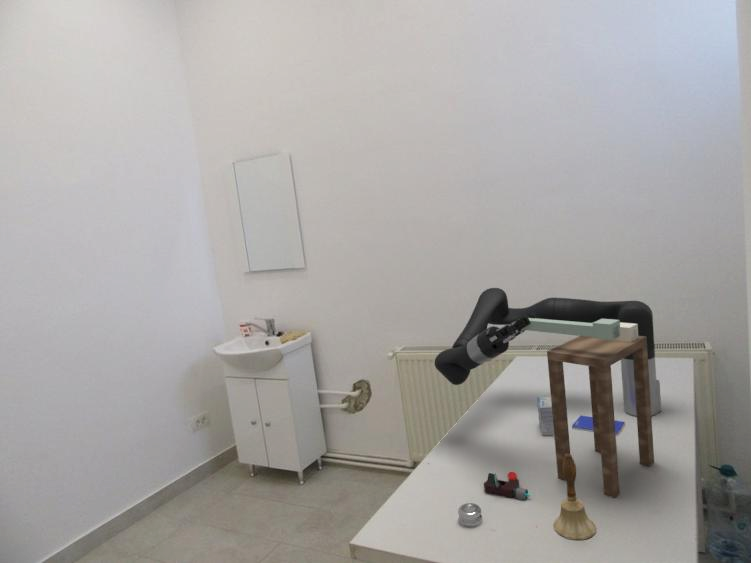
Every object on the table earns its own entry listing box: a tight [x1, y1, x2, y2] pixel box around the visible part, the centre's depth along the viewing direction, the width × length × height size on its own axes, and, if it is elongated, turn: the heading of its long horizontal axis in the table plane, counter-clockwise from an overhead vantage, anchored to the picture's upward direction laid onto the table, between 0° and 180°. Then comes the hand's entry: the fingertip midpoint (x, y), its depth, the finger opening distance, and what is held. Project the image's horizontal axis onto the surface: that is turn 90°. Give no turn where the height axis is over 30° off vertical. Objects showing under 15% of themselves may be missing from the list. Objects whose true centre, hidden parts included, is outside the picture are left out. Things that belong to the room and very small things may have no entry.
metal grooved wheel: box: [457, 502, 483, 528], centre depth 116 cm, size 5×3×5 cm
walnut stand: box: [546, 336, 655, 499], centre depth 127 cm, size 14×20×32 cm
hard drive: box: [571, 414, 626, 437], centre depth 153 cm, size 2×8×12 cm
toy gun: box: [483, 471, 532, 501], centre depth 127 cm, size 10×12×5 cm
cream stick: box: [613, 322, 638, 343], centre depth 133 cm, size 24×4×4 cm, turn 39°
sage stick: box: [521, 318, 621, 340], centre depth 123 cm, size 24×4×4 cm, turn 39°
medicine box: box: [536, 396, 554, 436], centre depth 154 cm, size 8×4×9 cm, turn 168°
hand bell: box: [552, 453, 597, 541], centre depth 108 cm, size 8×8×16 cm
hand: (531, 318), depth 130 cm, fingers closed on sage stick, 2 cm apart
